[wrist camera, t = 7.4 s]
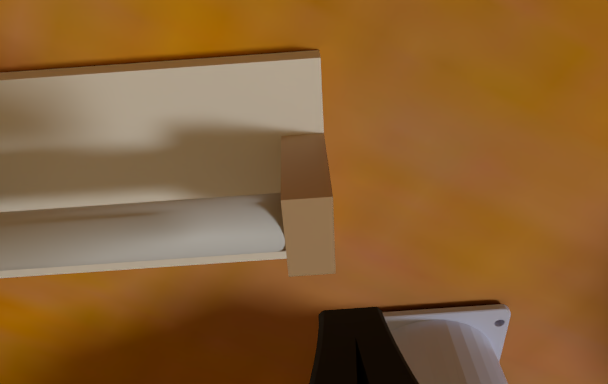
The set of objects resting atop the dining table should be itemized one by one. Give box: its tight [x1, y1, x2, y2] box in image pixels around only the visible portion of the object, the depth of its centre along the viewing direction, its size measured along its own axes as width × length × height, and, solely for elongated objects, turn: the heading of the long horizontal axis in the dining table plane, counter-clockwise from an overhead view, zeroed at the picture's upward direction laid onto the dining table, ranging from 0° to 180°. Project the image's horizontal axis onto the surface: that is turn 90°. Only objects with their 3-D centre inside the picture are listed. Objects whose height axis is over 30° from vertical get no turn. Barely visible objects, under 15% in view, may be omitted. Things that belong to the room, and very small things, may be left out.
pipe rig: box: [0, 50, 335, 278], centre depth 18 cm, size 22×9×5 cm, turn 94°
